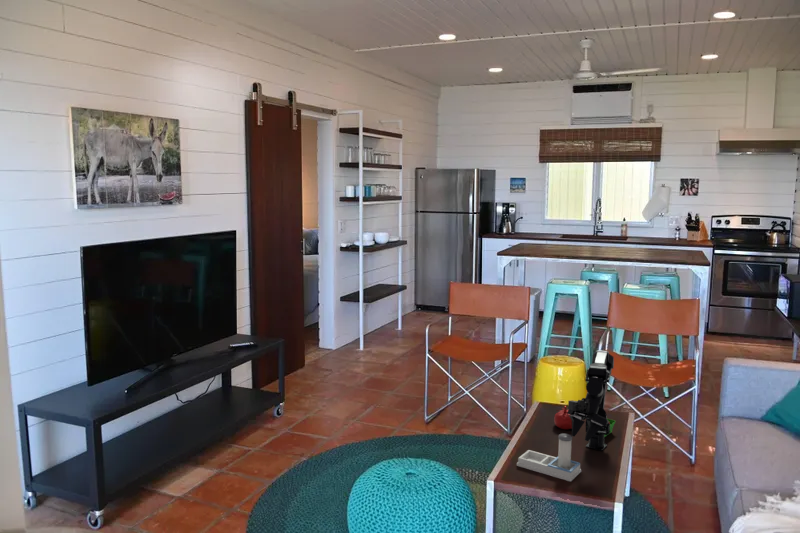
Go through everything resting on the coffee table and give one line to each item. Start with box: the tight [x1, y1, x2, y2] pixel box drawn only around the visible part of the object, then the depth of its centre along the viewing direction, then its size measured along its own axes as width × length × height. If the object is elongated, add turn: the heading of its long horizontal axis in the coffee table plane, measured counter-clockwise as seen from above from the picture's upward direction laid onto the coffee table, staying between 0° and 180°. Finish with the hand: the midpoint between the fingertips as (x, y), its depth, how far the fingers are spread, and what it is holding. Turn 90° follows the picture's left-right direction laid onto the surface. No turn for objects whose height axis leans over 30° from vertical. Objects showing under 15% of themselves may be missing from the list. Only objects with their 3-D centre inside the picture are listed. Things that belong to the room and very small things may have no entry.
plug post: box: [557, 433, 573, 470], centre depth 230 cm, size 5×5×13 cm
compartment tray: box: [516, 449, 582, 482], centre depth 234 cm, size 10×21×4 cm, turn 53°
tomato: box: [553, 405, 572, 430], centre depth 273 cm, size 10×10×9 cm
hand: (579, 438), depth 236 cm, fingers open, 9 cm apart
